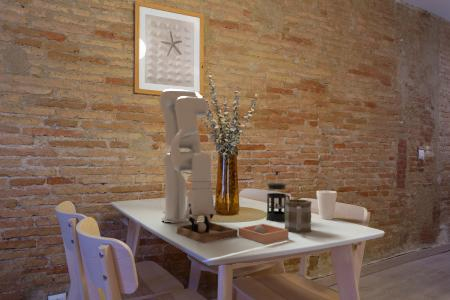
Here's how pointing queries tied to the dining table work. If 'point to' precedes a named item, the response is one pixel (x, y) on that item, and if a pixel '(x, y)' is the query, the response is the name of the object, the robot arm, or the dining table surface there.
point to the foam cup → (326, 204)
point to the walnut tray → (214, 233)
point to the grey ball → (259, 229)
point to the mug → (298, 216)
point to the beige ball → (201, 227)
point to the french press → (272, 214)
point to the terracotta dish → (269, 236)
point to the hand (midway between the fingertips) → (200, 232)
